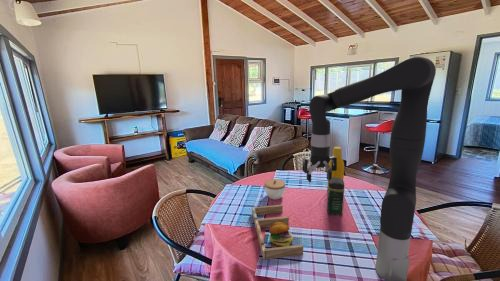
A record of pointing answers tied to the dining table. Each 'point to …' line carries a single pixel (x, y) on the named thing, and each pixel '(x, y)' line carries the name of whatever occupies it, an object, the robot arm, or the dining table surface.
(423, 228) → the dining table surface
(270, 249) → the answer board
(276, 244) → the cheeseburger
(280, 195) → the lidded bowl
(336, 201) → the coffee jar
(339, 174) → the beer bottle
